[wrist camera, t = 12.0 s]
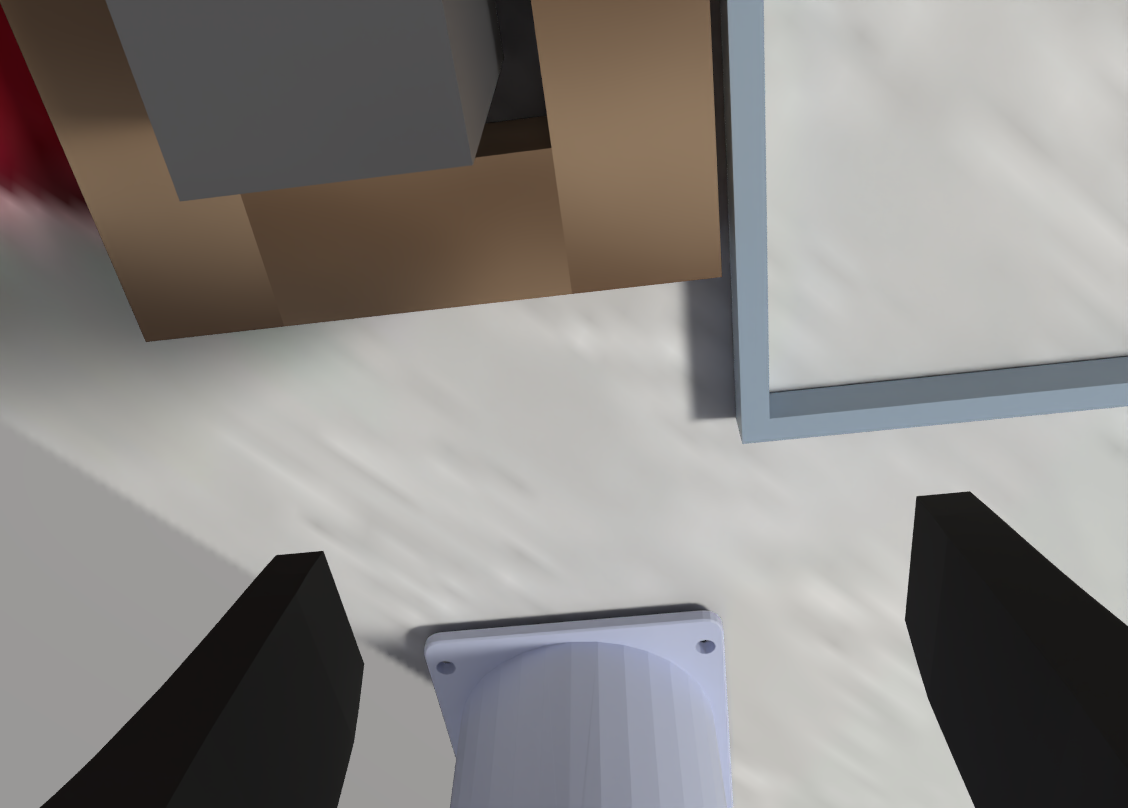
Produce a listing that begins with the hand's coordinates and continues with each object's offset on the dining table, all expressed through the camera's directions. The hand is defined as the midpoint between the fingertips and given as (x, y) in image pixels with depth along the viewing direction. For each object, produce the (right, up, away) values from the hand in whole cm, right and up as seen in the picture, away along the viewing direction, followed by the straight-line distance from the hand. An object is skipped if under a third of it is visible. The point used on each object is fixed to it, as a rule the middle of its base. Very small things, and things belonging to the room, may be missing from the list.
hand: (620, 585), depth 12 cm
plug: (-4, +10, +5) cm, 12 cm away
